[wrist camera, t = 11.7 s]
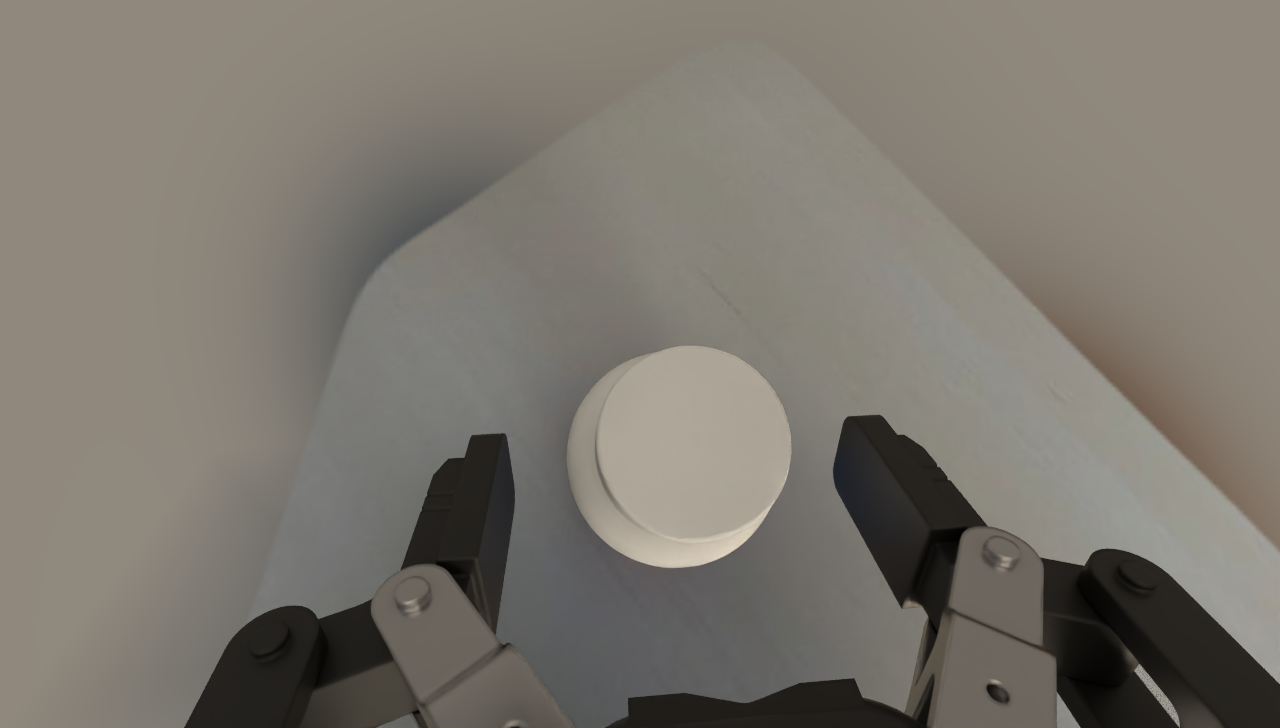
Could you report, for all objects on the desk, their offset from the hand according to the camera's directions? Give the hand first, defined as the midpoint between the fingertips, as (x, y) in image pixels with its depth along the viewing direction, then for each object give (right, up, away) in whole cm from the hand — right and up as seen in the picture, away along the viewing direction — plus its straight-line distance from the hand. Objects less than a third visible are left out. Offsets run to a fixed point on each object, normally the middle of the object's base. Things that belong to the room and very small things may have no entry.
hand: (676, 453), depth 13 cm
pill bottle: (-1, -2, +7) cm, 8 cm away
